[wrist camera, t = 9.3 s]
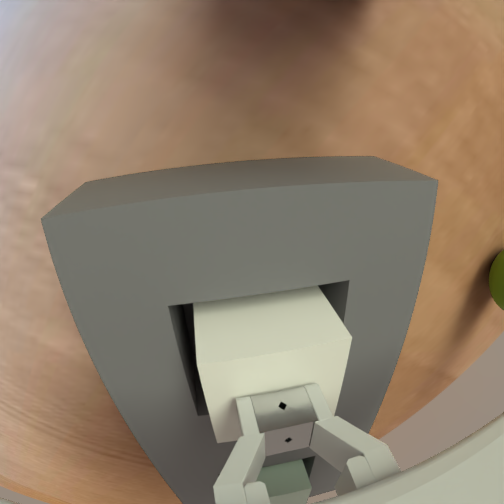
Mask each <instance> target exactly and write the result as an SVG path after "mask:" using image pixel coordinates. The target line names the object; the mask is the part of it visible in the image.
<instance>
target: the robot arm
mask: <svg viewBox="0 0 504 504" xmlns="http://www.w3.org/2000/svg"><path fill="white" fill-rule="evenodd" d="M236 405H237V412H238V419H239V425H240V430H241V435H242V437H239V438H238V440H237V442H236V444H235V446H234V448H233V450H232V452H231V454H230V456H229V458H228V460H227V462H226V464H225V466H224V467H223V469H222V471H221V473H220V475H219V477H218V479H217V481H216V482H215V484H214V486H213V489H214V496H215V503H216V504H271V503H270V500H269V496H268V492H267V489H266V485H265V483H263V482H260V481H258V482H256V480H257V478H258V475H259V473H260V470H261V468H262V465H263V463H264V460H265V456H269V455H274V454H278V453H282V452H287V451H292V450H296V449H301V448H306V447H310V448H311V449H312V450H313V451H314V452H316V453H317V454H318V455H319V456H321V457H322V458H323V459H324V460H326V461H327V462H328V463H330V464H331V465H332V466H333V467H335V468H336V469H337V470H339V471H340V472H341V475H340V477H339V479H338V481H337V483H336V485H335V487H334V488H335V490H336V493H337V495H338V496H336V497H333V498H330V499H327V500H323V501H319V502H316V503H312V504H504V412H503V413H502V414H500V415H499V416H498V417H496V418H495V419H494V420H492V421H490V422H489V423H488V424H486V425H485V426H483V427H482V428H480V429H479V430H477V431H476V432H474V433H472V434H471V435H469V436H468V437H466V438H464V439H463V440H461V441H459V442H458V443H456V444H454V445H453V446H451V447H449V448H447V449H446V450H444V451H442V452H440V453H438V454H437V455H435V456H433V457H431V458H429V459H427V460H425V461H423V462H421V463H419V464H417V465H415V466H413V467H411V468H408V469H406V470H404V471H402V472H401V470H400V468H399V466H398V464H397V462H396V461H395V459H394V457H393V455H392V453H391V451H390V449H389V448H388V446H387V444H385V443H383V442H381V441H380V440H378V439H376V438H374V437H373V436H371V435H369V434H367V433H366V432H364V431H362V430H360V429H359V428H357V427H355V426H354V425H352V424H350V423H348V422H347V421H345V420H343V419H342V418H340V417H339V416H334V417H333V414H332V412H331V410H330V408H329V406H328V404H327V401H326V399H325V397H324V395H323V393H322V391H321V389H320V386H319V385H318V384H317V383H314V384H310V385H306V386H300V387H296V388H291V389H287V390H282V391H277V392H274V393H268V394H262V395H255V396H248V397H242V398H236ZM0 504H19V503H16V502H13V501H10V500H7V499H4V498H0Z"/></svg>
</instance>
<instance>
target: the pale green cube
mask: <svg viewBox="0 0 504 504" xmlns="http://www.w3.org/2000/svg"><path fill="white" fill-rule="evenodd" d="M258 481H260V482H263V483H265V485H266V489H267V492H268V496H269V500H270V503H271V504H306V503H307V500H308V498H309V495H310V492H311V489H312V486H311V484H310V481H309V478H308V475H307V472H306V469H305V466H304V463H303V460H302V459H299V460H295V461H291V462H286V463H282V464H277V465H272V466H266V467H262V468H261V470H260V473H259V475H258V478H257V480H256V482H258Z"/></svg>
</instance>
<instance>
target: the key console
mask: <svg viewBox="0 0 504 504" xmlns="http://www.w3.org/2000/svg"><path fill="white" fill-rule="evenodd" d="M437 187H438V180H436V179H433V178H431V177H428V176H426V175H423V174H421V173H418V172H416V171H413V170H411V169H408V168H405V167H403V166H400V165H397V164H394V163H392V162H389V161H386V160H383V159H380V158H377V157H374V156H336V157H302V158H281V159H264V160H250V161H237V162H226V163H215V164H206V165H196V166H188V167H179V168H172V169H164V170H157V171H150V172H143V173H136V174H130V175H124V176H118V177H112V178H106V179H100V180H95V181H90V182H85V183H84V184H83V185H82V186H80V187H79V188H78V189H76V190H75V191H74V192H73V193H71V194H70V195H69V196H68V197H66V198H65V199H64V200H63V201H61V202H60V203H59V204H58V205H57V206H55V207H54V208H53V209H52V210H51V211H49V212H48V213H47V214H46V215H45V216H44V217H43V218H41V221H42V225H43V229H44V233H45V236H46V240H47V244H48V247H49V250H50V254H51V257H52V260H53V263H54V266H55V269H56V272H57V275H58V278H59V281H60V284H61V287H62V290H63V292H64V295H65V298H66V300H67V303H68V306H69V308H70V311H71V313H72V316H73V318H74V321H75V323H76V326H77V328H78V330H79V333H80V335H81V337H82V339H83V342H84V344H85V346H86V348H87V350H88V353H89V355H90V357H91V359H92V361H93V363H94V365H95V367H96V369H97V371H98V373H99V375H100V377H101V379H102V381H103V383H104V385H105V387H106V389H107V390H108V392H109V394H110V396H111V398H112V400H113V401H114V403H115V405H116V407H117V408H118V410H119V412H120V414H121V415H122V417H123V419H124V420H125V422H126V424H127V425H128V427H129V429H130V430H131V432H132V433H133V435H134V437H135V438H136V440H137V441H138V443H139V444H140V446H141V447H142V449H143V450H144V452H145V453H146V455H147V456H148V458H149V459H150V461H151V462H152V463H153V465H154V466H155V468H156V469H157V470H158V472H159V473H160V475H161V476H162V477H163V479H164V480H165V481H166V483H167V484H168V485H169V487H170V488H171V489H172V490H173V492H174V493H175V494H176V496H177V497H178V498H179V499H180V500H181V502H182V503H183V504H216V503H215V496H214V489H213V486H214V484H215V482H216V481H217V479H218V477H219V475H220V473H221V471H222V469H223V467H224V466H225V464H226V462H227V460H228V458H229V456H230V454H231V452H232V450H233V448H234V446H235V444H236V442H237V441H231V442H223V443H217V440H216V437H215V433H214V430H213V426H212V422H211V419H210V415H209V411H208V407H207V404H206V400H205V396H204V392H203V388H202V384H201V380H200V376H199V371H198V367H197V359H196V344H195V328H194V308H193V303H196V302H204V301H212V300H220V299H228V298H235V297H243V296H250V295H257V294H264V293H271V292H278V291H285V290H291V289H298V288H304V287H311V286H317V285H318V287H319V288H320V290H321V291H322V293H323V294H324V295H325V297H326V298H327V300H328V301H329V303H330V304H331V306H332V307H333V309H334V310H335V312H336V313H337V315H338V316H339V318H340V319H341V321H342V322H343V324H344V326H345V327H346V329H347V330H348V332H349V333H350V335H351V336H352V341H351V346H350V351H349V356H348V360H347V365H346V369H345V374H344V378H343V383H342V387H341V391H340V395H339V399H338V403H337V407H336V411H335V414H334V416H339V417H340V418H342V419H343V420H345V421H347V422H348V423H350V424H352V425H354V426H355V427H357V428H359V429H360V430H362V431H364V432H366V433H367V434H368V433H369V431H370V429H371V427H372V424H373V422H374V420H375V418H376V415H377V413H378V411H379V408H380V406H381V403H382V401H383V398H384V396H385V393H386V391H387V388H388V386H389V383H390V380H391V378H392V375H393V372H394V370H395V367H396V364H397V361H398V358H399V355H400V352H401V349H402V346H403V343H404V340H405V337H406V334H407V330H408V327H409V324H410V320H411V317H412V313H413V310H414V306H415V302H416V299H417V295H418V291H419V287H420V283H421V278H422V274H423V270H424V265H425V260H426V256H427V251H428V246H429V240H430V235H431V229H432V223H433V217H434V210H435V203H436V196H437ZM299 459H302V460H303V463H304V466H305V469H306V472H307V475H308V478H309V481H310V484H311V486H312V489H311V492H310V495H309V497H311V496H315V495H319V494H322V493H326V492H329V491H333V490H335V488H334V487H335V485H336V483H337V481H338V479H339V477H340V475H341V472H340V471H339V470H337V469H336V468H335V467H333V466H332V465H331V464H330V463H328V462H327V461H326V460H324V459H323V458H322V457H321V456H319V455H318V454H317V453H316V452H314V451H313V450H312V449H311V448H310V447H306V448H301V449H296V450H292V451H287V452H282V453H278V454H274V455H269V456H265V460H264V463H263V465H262V467H266V466H272V465H277V464H282V463H286V462H291V461H295V460H299Z"/></svg>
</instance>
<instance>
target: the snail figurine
mask: <svg viewBox="0 0 504 504" xmlns="http://www.w3.org/2000/svg"><path fill="white" fill-rule="evenodd" d="M489 288H490V292H491V295H492V297H493V299H494V301H495V302H496V304H497V305H498V306H499V307H500V308H501V309H503V310H504V250H503V251H502V252H500V253H499V254H498V256H497V257H496V258H495V260H494V262H493V264H492V266H491V269H490V273H489Z"/></svg>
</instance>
